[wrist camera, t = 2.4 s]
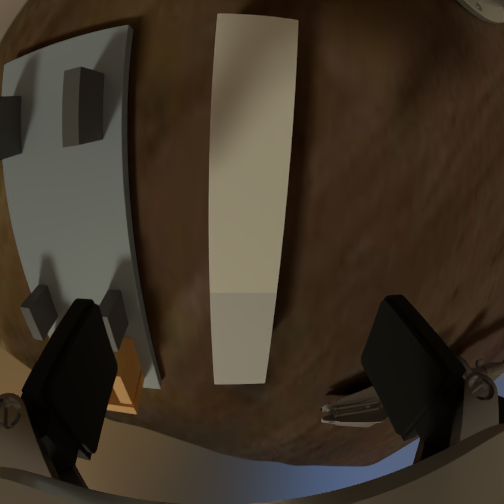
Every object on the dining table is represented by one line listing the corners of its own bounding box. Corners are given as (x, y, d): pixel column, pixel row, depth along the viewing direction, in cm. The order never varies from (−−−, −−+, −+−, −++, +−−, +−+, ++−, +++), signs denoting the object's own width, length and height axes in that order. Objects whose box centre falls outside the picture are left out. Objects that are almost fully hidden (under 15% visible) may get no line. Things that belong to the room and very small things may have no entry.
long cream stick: (219, 37, 13) (217, 13, 9) (282, 41, 13) (298, 20, 9) (214, 346, 22) (214, 384, 19) (258, 345, 22) (264, 383, 19)
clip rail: (12, 65, 11) (-33, 62, 6) (133, 29, 12) (102, 2, 7) (71, 369, 23) (56, 406, 18) (161, 380, 24) (155, 424, 19)
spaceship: (519, 385, 24) (551, 365, 18) (317, 450, 26) (332, 447, 20) (508, 344, 29) (536, 319, 23) (313, 388, 31) (325, 369, 25)
